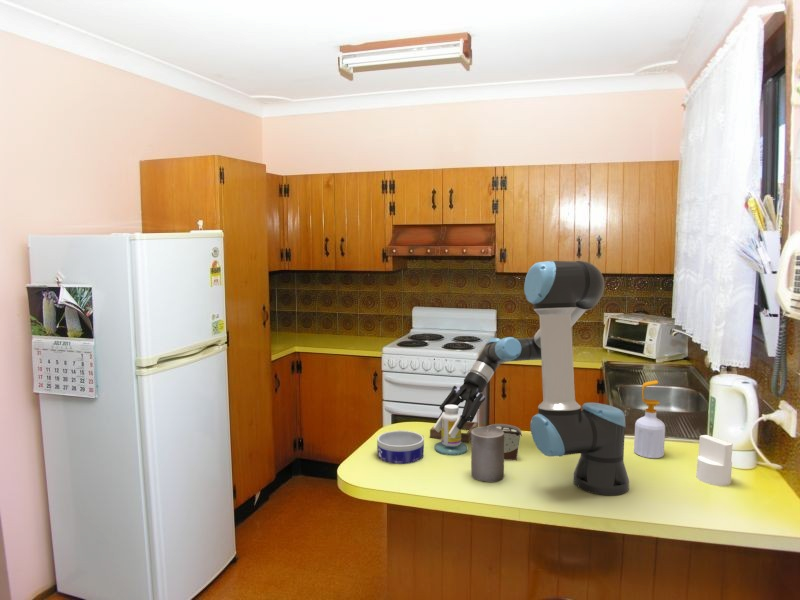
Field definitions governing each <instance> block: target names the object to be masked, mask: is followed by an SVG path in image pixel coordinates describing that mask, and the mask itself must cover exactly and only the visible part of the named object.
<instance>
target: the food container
mask: <svg viewBox="0 0 800 600" xmlns="http://www.w3.org/2000/svg"><path fill="white" fill-rule="evenodd" d="M487 426H488V427H496V428H499V429H501V430H503V432H504V461H517V460H518V454H519V449H520V447H519V445H520V439H521V437H523V434H522V431H521V428H519V427H517V426H515V425H512V424H505V423H494V424H490V425H489V424H488V425H487Z"/></svg>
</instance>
